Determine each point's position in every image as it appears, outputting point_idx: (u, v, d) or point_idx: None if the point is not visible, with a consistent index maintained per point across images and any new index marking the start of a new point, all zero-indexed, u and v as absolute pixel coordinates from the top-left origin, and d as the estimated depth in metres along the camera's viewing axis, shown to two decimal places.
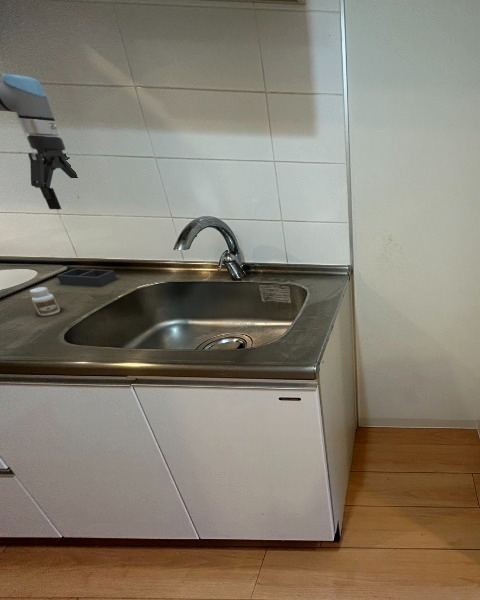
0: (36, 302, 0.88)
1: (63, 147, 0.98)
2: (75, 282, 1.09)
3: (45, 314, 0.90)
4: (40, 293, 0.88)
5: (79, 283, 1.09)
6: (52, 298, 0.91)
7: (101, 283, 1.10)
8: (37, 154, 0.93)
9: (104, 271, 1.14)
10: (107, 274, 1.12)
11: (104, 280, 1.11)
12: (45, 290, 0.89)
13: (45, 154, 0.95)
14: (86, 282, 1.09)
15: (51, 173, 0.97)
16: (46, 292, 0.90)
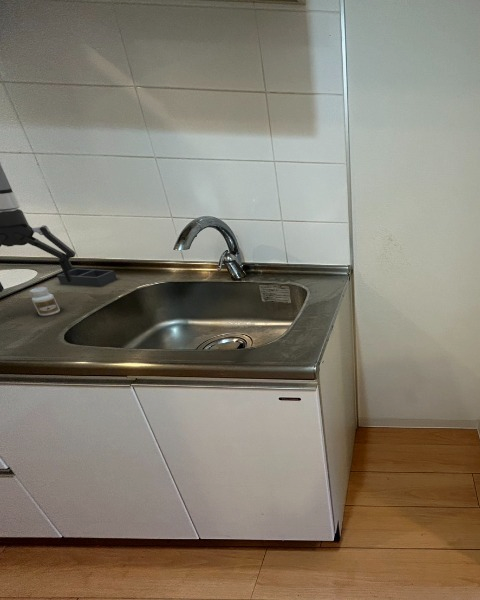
0: (36, 302, 0.88)
1: (5, 224, 0.78)
2: (75, 282, 1.09)
3: (45, 314, 0.90)
4: (39, 293, 0.88)
5: (79, 283, 1.09)
6: (52, 298, 0.91)
7: (101, 283, 1.10)
8: None
9: (104, 271, 1.14)
10: (107, 274, 1.12)
11: (104, 280, 1.11)
12: (45, 290, 0.89)
13: None
14: (86, 282, 1.09)
15: None
16: (46, 292, 0.90)
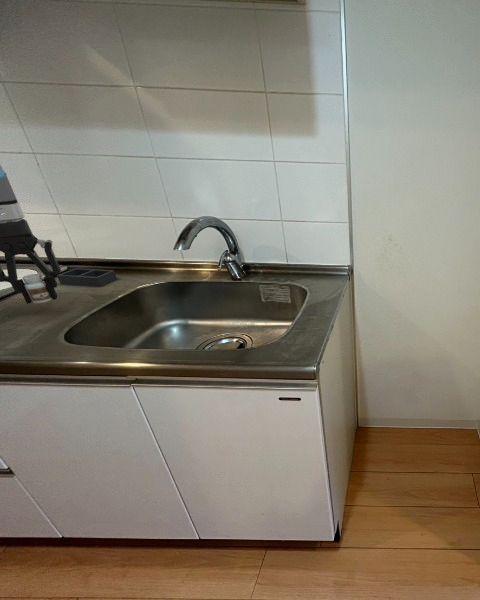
0: (29, 289, 0.87)
1: (10, 234, 0.79)
2: (75, 282, 1.09)
3: (38, 302, 0.89)
4: (32, 279, 0.87)
5: (79, 283, 1.09)
6: (45, 285, 0.89)
7: (101, 283, 1.10)
8: None
9: (104, 271, 1.14)
10: (107, 274, 1.12)
11: (104, 280, 1.11)
12: (38, 276, 0.88)
13: None
14: (86, 282, 1.09)
15: (11, 264, 0.83)
16: (39, 279, 0.88)
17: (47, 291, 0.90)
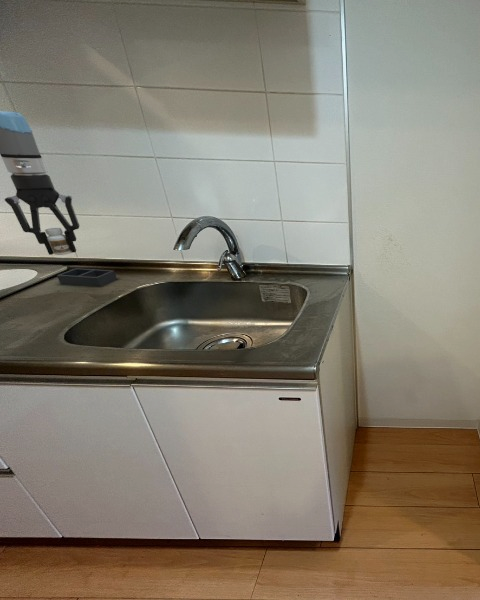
0: (51, 241, 0.94)
1: (34, 186, 0.87)
2: (75, 282, 1.09)
3: (59, 254, 0.96)
4: (54, 232, 0.94)
5: (79, 283, 1.09)
6: (65, 238, 0.96)
7: (101, 283, 1.10)
8: (5, 199, 0.86)
9: (104, 271, 1.14)
10: (107, 274, 1.12)
11: (104, 280, 1.11)
12: (59, 229, 0.95)
13: (17, 193, 0.87)
14: (86, 282, 1.09)
15: (35, 216, 0.90)
16: (60, 232, 0.95)
17: (67, 244, 0.97)
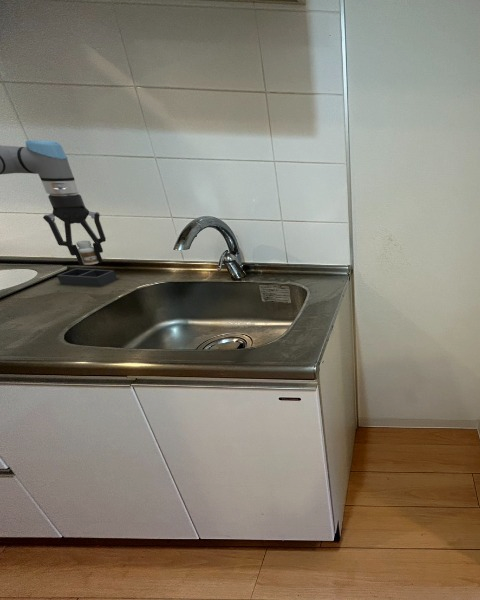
0: (81, 252, 1.06)
1: (69, 205, 0.98)
2: (75, 282, 1.09)
3: (88, 264, 1.08)
4: (84, 244, 1.05)
5: (79, 283, 1.09)
6: (94, 250, 1.08)
7: (101, 283, 1.10)
8: (43, 217, 0.97)
9: (104, 271, 1.14)
10: (107, 274, 1.12)
11: (104, 280, 1.11)
12: (88, 242, 1.06)
13: (54, 211, 0.98)
14: (86, 282, 1.09)
15: (68, 231, 1.02)
16: (89, 244, 1.07)
17: (95, 255, 1.08)
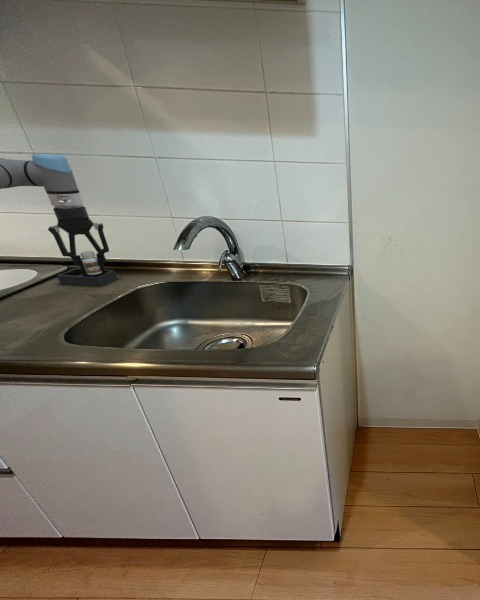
0: (85, 263, 1.07)
1: (74, 217, 1.00)
2: (75, 282, 1.09)
3: (92, 274, 1.09)
4: (88, 255, 1.07)
5: (79, 283, 1.09)
6: (97, 260, 1.10)
7: (101, 283, 1.10)
8: (48, 229, 0.99)
9: None
10: (107, 274, 1.12)
11: (104, 280, 1.11)
12: (92, 253, 1.08)
13: (59, 223, 1.00)
14: (86, 282, 1.09)
15: (72, 242, 1.04)
16: (93, 255, 1.08)
17: (98, 265, 1.10)
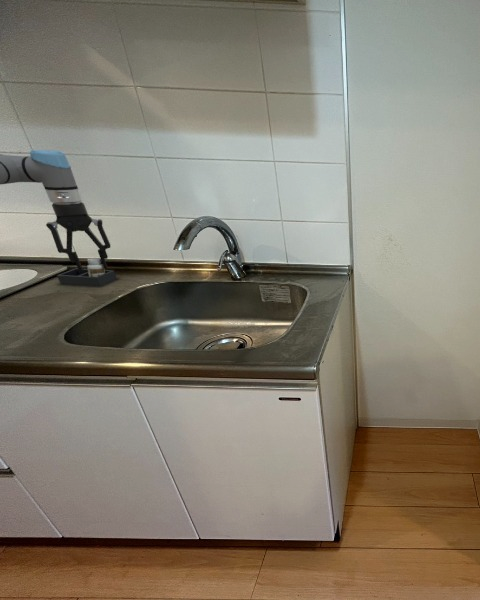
0: (90, 269, 1.09)
1: (72, 214, 0.99)
2: (75, 282, 1.09)
3: None
4: (95, 261, 1.09)
5: (79, 283, 1.09)
6: (103, 267, 1.11)
7: (101, 283, 1.10)
8: (46, 224, 0.98)
9: None
10: (107, 274, 1.12)
11: (104, 280, 1.11)
12: (99, 260, 1.10)
13: (57, 219, 1.00)
14: (86, 282, 1.09)
15: (69, 239, 1.03)
16: (99, 262, 1.10)
17: (103, 272, 1.12)
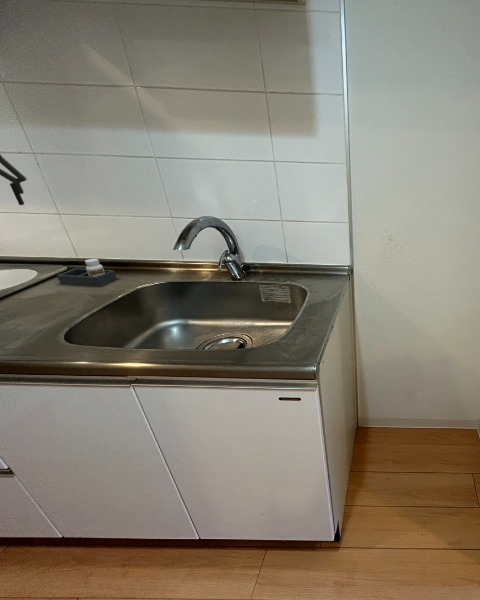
0: (89, 270, 1.09)
1: None
2: (75, 282, 1.09)
3: None
4: (92, 263, 1.09)
5: (79, 283, 1.09)
6: (101, 268, 1.11)
7: (101, 283, 1.10)
8: None
9: (104, 271, 1.14)
10: (107, 274, 1.12)
11: (104, 280, 1.11)
12: (96, 260, 1.09)
13: None
14: (86, 282, 1.09)
15: None
16: (97, 262, 1.10)
17: (102, 272, 1.12)
